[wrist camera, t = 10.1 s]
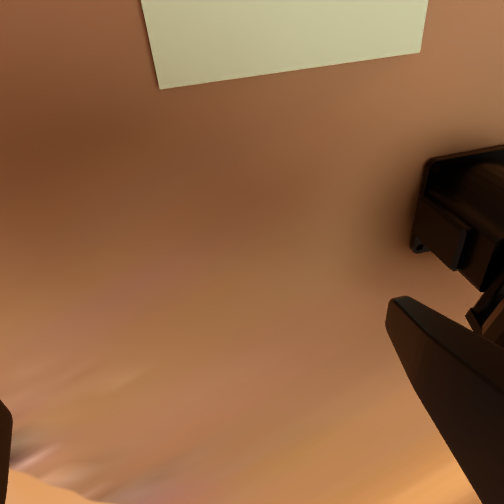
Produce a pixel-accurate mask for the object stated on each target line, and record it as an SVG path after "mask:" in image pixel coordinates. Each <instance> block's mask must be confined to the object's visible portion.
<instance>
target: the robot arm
mask: <svg viewBox="0 0 504 504" xmlns="http://www.w3.org/2000/svg"><path fill="white" fill-rule="evenodd" d="M436 165H437V166H436ZM435 166H436V168H435V169H434V170H433V168H434V167H435ZM418 245H419V246H418ZM410 249H411V250H412V251H413V252H414V253H416V254H417V253H423V252H428V251H432V252H433V253H434V254H435V255H436V256H437V257H438V258H439V259H440V260H441V261H442V262H443V263H444V264H445V265H446V266H447V267H448V268H449V269H450V270H452V271H459V272H460V273H461V274H462V275H463V276H464V277H465V278H466V279H467V280H468V281H469V282H470V283H471V284H472V285H474V286H475V287H476V288H477V289H478V290H479V291H480V292H484V293H483V295H482V296H481V297H480V299H479V300H478V302H477V303H476V304H475V306H474V307H473V308H470V310H469V311H468V312H467V314H466V315H465V317H466V319H467V321H468V322H469V324H470V326H471V328H472V330H473V331H471V330H469V329H467V328H466V327H464V326H462V325H460V324H458V323H456V322H455V321H453V320H451V319H449V318H447V317H446V316H444V315H442V314H440V313H438V312H436V311H435V310H433V309H431V308H429V307H427V306H425V305H424V304H422V303H420V302H418V301H416V300H415V299H413V298H411V297H409V296H401V297H396V298H392V299H391V300H390V301H389V304H388V309H387V315H386V321H385V326H386V330H387V333H388V335H389V337H390V339H391V341H392V343H393V346H394V348H395V350H396V352H397V354H398V356H399V359H400V361H401V363H402V365H403V367H404V369H405V372H406V374H407V376H408V378H409V380H410V382H411V384H412V386H413V388H414V390H415V392H416V393H417V395H418V397H419V399H420V400H421V402H422V404H423V405H424V407H425V409H426V410H427V412H428V414H429V415H430V417H431V419H432V420H433V422H434V424H435V425H436V427H437V429H438V430H439V432H440V434H441V435H442V437H443V439H444V440H445V442H446V444H447V445H448V447H449V449H450V450H451V452H452V454H453V455H454V457H455V459H456V460H457V462H458V464H459V465H460V467H461V469H462V470H463V472H464V474H465V475H466V477H467V479H468V480H469V482H470V484H471V485H472V487H473V489H474V490H475V492H476V494H477V495H478V497H479V499H480V500H481V502H482V504H504V145H503V146H498V147H492V148H487V149H481V150H476V151H470V152H465V153H459V154H454V155H448V156H443V157H437V158H433V159H431V160H430V161H428V163H427V164H426V166H425V170H424V175H423V180H422V185H421V190H420V195H419V199H418V203H417V208H416V213H415V218H414V223H413V228H412V236H411V241H410ZM12 426H13V419H12V415H11V413H10V411H9V410H8V408H7V407H6V406H5V405H4V403H3V402H2V401H1V400H0V504H5V499H6V493H7V484H8V473H9V461H10V449H11V438H12Z"/></svg>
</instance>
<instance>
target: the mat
mask: <svg viewBox="0 0 504 504" xmlns="http://www.w3.org/2000/svg"><path fill="white" fill-rule="evenodd" d="M141 3H142V8H143V13H144V17H145V22H146V27H147V32H148V36H149V41H150V46H151V50H152V55H153V60H154V65H155V69H156V74H157V79H158V84H159V88H160V89H167V88H174V87H181V86H188V85H195V84H202V83H209V82H216V81H223V80H230V79H237V78H244V77H251V76H258V75H265V74H272V73H279V72H286V71H293V70H300V69H307V68H314V67H321V66H328V65H335V64H342V63H349V62H356V61H363V60H370V59H377V58H384V57H391V56H398V55H405V54H412V53H419V52H420V49H421V43H422V36H423V30H424V24H425V17H426V11H427V5H428V0H141Z"/></svg>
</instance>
